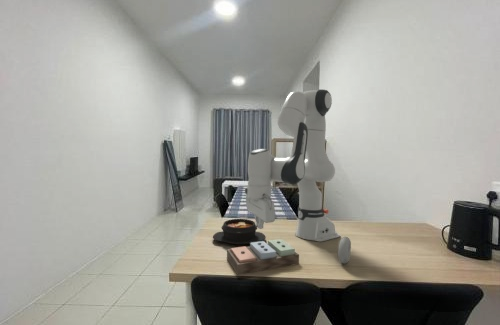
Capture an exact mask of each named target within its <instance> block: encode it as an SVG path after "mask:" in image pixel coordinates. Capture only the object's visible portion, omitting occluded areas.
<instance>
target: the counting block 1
mask: <svg viewBox="0 0 500 325" xmlns="http://www.w3.org/2000/svg"><path fill="white" fill-rule="evenodd" d="M246 247H247V246H238V247H231V248H230V249H231V253H232V254H233V255H234V257H235V258H236V260H237V261H238V262H239V263H244V262H250V261H256V257H255V256H254V255H253V254H252V253H251V252H250V251H249V250H248V249H247V248H246Z"/></svg>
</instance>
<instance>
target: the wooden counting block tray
mask: <svg viewBox="0 0 500 325" xmlns="http://www.w3.org/2000/svg"><path fill="white" fill-rule="evenodd" d="M246 248H247V249H248V250H249V251H250V252H251V253H252V254H253V255H254V256H255V257H256V261H250V262H244V263H239V262H238V261H237V260H236V258H235V257H234V255H233V254H232V253H231V248H229V249H226V259H227V261H228V262H229V264H230V265H231V266H232V269H233V270H234V272H235V273H236V274H237V275H242V274H243V275H244V274H247V273H255V272H260V271H265V270H271V269H278V268H282V267H287V266H294V265H299V264H300V254H299V253H298V252H296V251H295V254H294V255H288V256H282V257H280V256H279V255H278V254H277V253H276V257H275V258H269V259H263V260H260V259H259V258H258V257H257V256H256V255H255V254H254V253H253V251H252V250H251V249H250V245H249V246H246Z"/></svg>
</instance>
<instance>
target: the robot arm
mask: <svg viewBox="0 0 500 325" xmlns="http://www.w3.org/2000/svg"><path fill="white" fill-rule="evenodd" d="M332 101H333V100H332V94H331V93H330V91H329V90H328V89H313V90H311V89H310V90H306V91H296V90H295V91H292V92H290V93H289V94H288V95H287V97H286V99H285V100H284V102H283V104H282V106H281V109H280V112H279V113H278V117H277V125H278V128H279V130H280V131H282V132H283V133H284V134H286V135H288V136H289V137H292V138H293V142H292V143H293V144H292V150H291V154H290V155H289V156H287V157H276V155H275V156H274V155H273V154H272V153H270V150H269V149H267V148H258V149H254V150H251V152H249V155H248V160H247V175H248V180H247V187H245V188H244V194H245V205H246V210H247V211H248V212H250V213H251V214H253V215H254V220H255V224H256V226H257V229H260V230H262V229H264V224H270V223H274V222H275V220H276V212H275V211H276V209H275V202H274V201H273V200H272V198H271V197H272V182H276V183H284V184H287V185H288V184H289V185H292V186H293V185H297V187H298V196H299V197H298V198H299V201H298V202H299V203H298V204H299V205H298V208H297V215H298V218H297V219H298V220H297V225H296V226H297V227H296V230H295V236H296V237H298V238H300V239H304V240H308V241H316V242H325V241H328V240H332V239H336V238H340V237H341V234H340V233H339V232H338V231H336V226H335V223H334V222H333V221H332V220H330V218H329V217H327V216H326V215H327V214H329V212H330V211H329V209H326V208H325V209H324V208H322V207H323V206H322V205H323V194H322V191H321V190H320V189H319V187H318V185H317V183H325V182H329V181H331V180H332V179H333V178H334V176H335V174H336V168H335V165H334V164H333V162H331V161H330V159H329V157H328V155H327V154H328V153H327V151H326V130H327V129H326V126H327V124H326V123H327V122H326V121H327V120H326V114H327V113H328V112H329V111H330V109H331V107H332V104H333V102H332ZM306 155H307V158H306ZM325 214H326V215H325Z"/></svg>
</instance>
